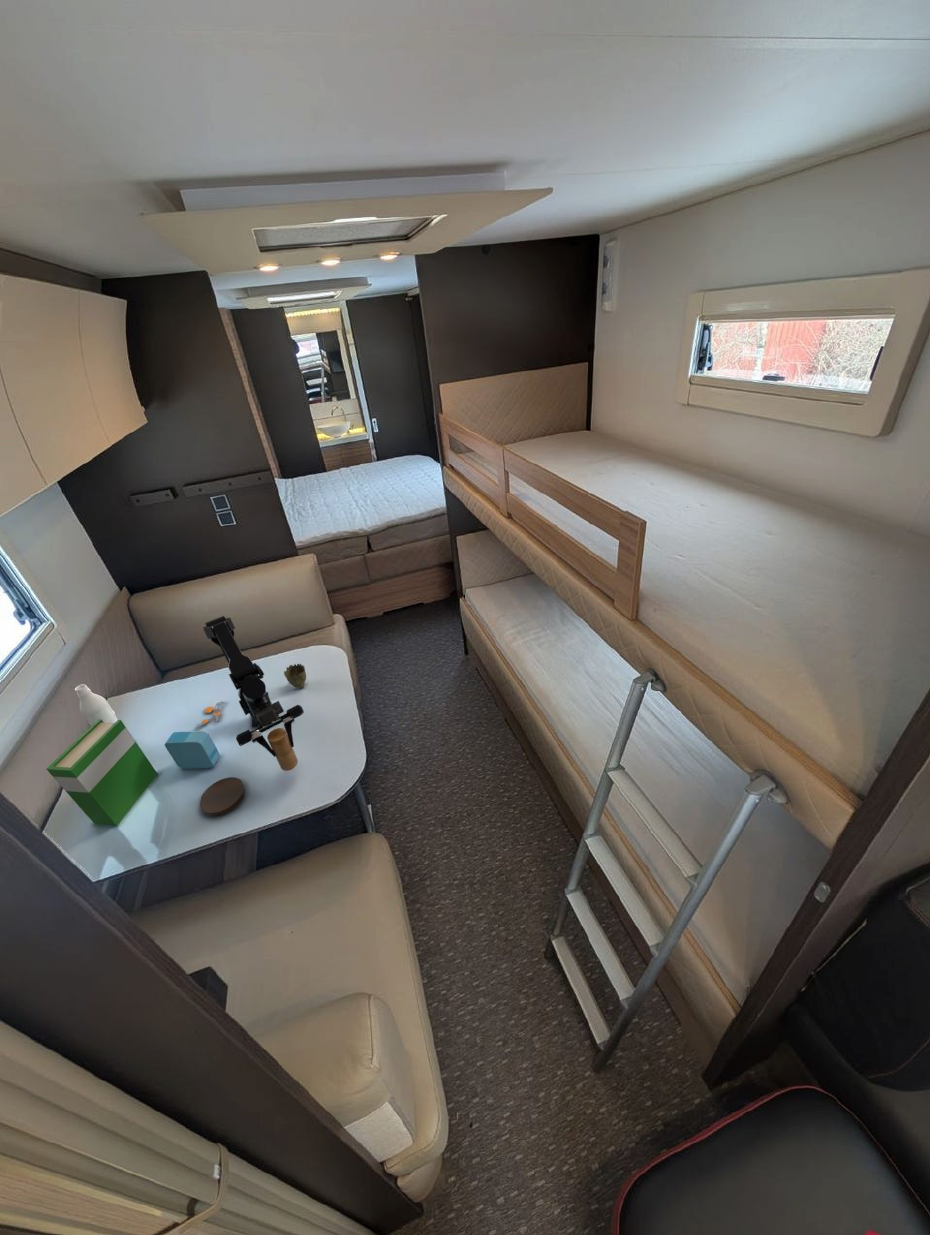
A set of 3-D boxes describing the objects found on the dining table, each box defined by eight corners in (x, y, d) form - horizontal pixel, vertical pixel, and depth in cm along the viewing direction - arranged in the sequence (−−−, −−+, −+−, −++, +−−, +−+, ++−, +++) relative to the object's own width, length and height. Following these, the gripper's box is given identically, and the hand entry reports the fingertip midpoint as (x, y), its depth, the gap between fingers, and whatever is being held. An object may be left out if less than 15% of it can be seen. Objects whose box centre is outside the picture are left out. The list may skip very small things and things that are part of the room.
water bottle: (133, 740, 163) (96, 685, 149) (110, 753, 159) (69, 698, 145) (127, 730, 167) (90, 676, 154) (104, 743, 163) (64, 688, 149)
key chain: (209, 703, 175) (208, 702, 175) (228, 702, 175) (228, 700, 174) (193, 729, 164) (192, 728, 164) (214, 727, 164) (213, 726, 164)
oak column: (282, 758, 142) (269, 729, 135) (299, 755, 143) (286, 726, 136) (279, 772, 138) (265, 742, 131) (296, 769, 138) (283, 739, 132)
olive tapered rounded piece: (304, 693, 175) (298, 676, 171) (286, 692, 177) (279, 675, 172) (313, 680, 181) (307, 663, 177) (296, 678, 183) (290, 662, 178)
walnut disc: (204, 790, 143) (201, 785, 141) (246, 775, 146) (243, 771, 144) (200, 823, 133) (197, 819, 132) (245, 807, 136) (243, 803, 135)
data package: (221, 756, 153) (207, 730, 146) (215, 768, 149) (199, 742, 143) (186, 757, 154) (170, 731, 147) (179, 769, 150) (162, 743, 144)
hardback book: (137, 773, 151) (98, 719, 137) (158, 774, 149) (120, 719, 136) (94, 824, 136) (46, 769, 123) (116, 825, 135) (70, 770, 122)
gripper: (224, 715, 126) (250, 768, 124) (292, 683, 135) (317, 732, 133) (227, 720, 136) (251, 769, 134) (290, 690, 144) (313, 736, 143)
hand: (284, 751), depth 136 cm, fingers closed on oak column, 5 cm apart
